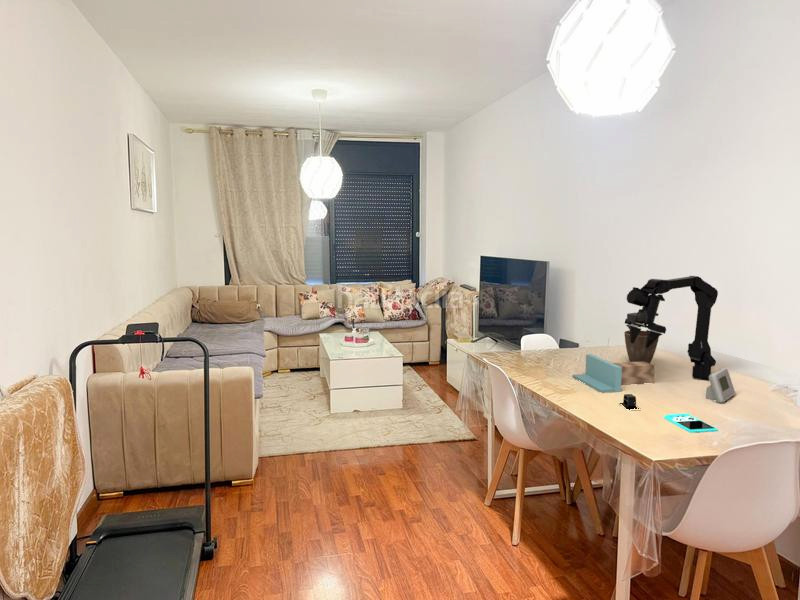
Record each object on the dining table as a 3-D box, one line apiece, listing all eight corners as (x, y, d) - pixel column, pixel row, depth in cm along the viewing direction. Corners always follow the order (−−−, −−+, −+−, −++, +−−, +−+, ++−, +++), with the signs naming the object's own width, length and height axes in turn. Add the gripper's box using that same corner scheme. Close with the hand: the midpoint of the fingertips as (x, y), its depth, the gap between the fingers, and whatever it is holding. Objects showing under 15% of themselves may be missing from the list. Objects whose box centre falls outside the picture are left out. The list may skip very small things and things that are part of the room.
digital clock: (720, 405, 209) (722, 376, 208) (696, 399, 217) (698, 371, 215) (743, 397, 218) (745, 370, 217) (719, 392, 226) (721, 365, 224)
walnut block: (643, 379, 245) (644, 361, 244) (653, 383, 238) (654, 365, 237) (609, 381, 242) (609, 363, 241) (618, 386, 236) (619, 367, 235)
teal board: (590, 376, 250) (591, 354, 249) (620, 391, 227) (621, 367, 225) (572, 377, 249) (573, 354, 247) (601, 392, 225) (602, 368, 224)
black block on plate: (613, 402, 215) (613, 390, 214) (632, 402, 215) (633, 390, 214) (626, 413, 202) (627, 400, 202) (647, 413, 202) (647, 400, 202)
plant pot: (648, 362, 274) (650, 330, 272) (663, 370, 259) (665, 336, 257) (617, 363, 274) (619, 330, 272) (631, 371, 259) (632, 336, 257)
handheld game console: (687, 416, 198) (688, 412, 198) (719, 432, 183) (719, 428, 182) (660, 418, 197) (661, 414, 197) (690, 434, 181) (690, 430, 181)
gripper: (619, 301, 242) (609, 337, 243) (649, 307, 224) (638, 345, 225) (640, 307, 245) (630, 342, 246) (671, 314, 227) (660, 351, 228)
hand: (639, 345), depth 236 cm, fingers open, 9 cm apart
